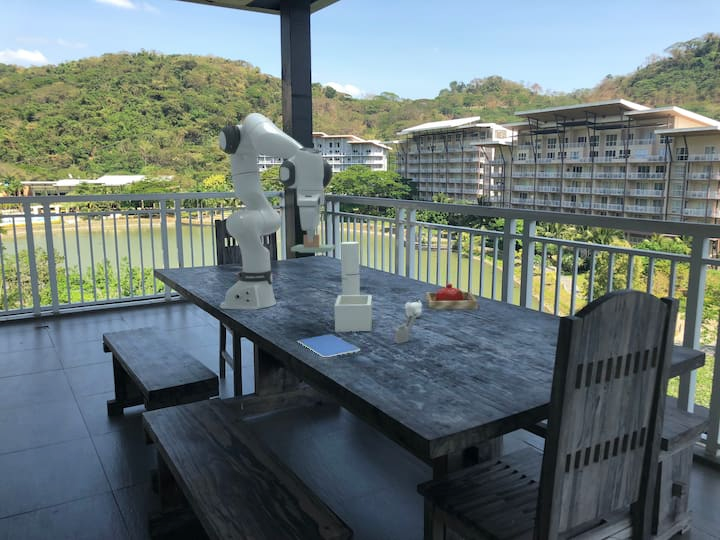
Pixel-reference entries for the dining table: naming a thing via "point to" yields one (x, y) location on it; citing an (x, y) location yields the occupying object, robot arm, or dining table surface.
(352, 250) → the cylindrical container
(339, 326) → the parts tub
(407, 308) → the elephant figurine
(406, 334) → the lighter
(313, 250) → the lid
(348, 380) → the dining table surface
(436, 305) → the wooden frame
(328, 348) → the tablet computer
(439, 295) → the butter dish
